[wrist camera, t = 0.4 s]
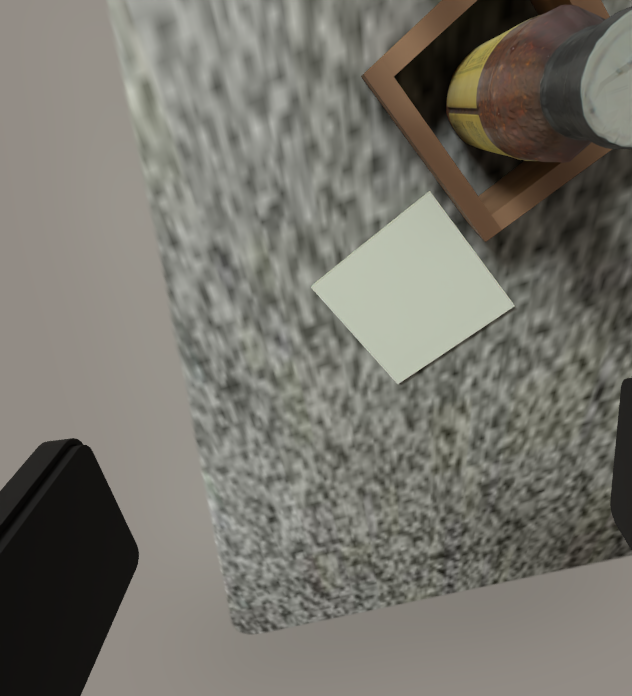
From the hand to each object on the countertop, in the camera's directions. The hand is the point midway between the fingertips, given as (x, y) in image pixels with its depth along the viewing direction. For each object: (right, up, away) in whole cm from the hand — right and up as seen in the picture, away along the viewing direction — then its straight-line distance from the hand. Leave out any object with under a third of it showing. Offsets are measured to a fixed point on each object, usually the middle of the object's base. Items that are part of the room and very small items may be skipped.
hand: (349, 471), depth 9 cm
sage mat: (+7, +6, +30) cm, 32 cm away
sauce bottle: (+11, +19, +24) cm, 32 cm away
